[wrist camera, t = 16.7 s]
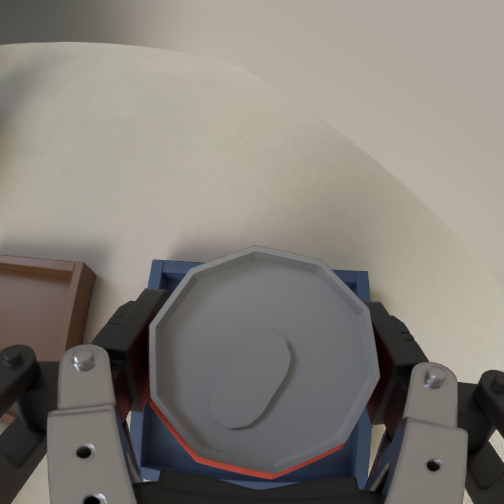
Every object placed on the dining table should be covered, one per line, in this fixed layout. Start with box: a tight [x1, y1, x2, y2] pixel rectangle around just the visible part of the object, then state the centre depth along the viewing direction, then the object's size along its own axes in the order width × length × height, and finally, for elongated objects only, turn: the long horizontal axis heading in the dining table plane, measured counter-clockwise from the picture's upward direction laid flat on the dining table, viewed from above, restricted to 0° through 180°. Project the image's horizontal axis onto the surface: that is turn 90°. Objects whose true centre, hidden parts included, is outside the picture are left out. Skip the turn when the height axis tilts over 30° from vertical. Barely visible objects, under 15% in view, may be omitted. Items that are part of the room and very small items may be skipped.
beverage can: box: [147, 245, 380, 480], centre depth 12 cm, size 6×6×12 cm
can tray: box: [130, 260, 371, 490], centre depth 17 cm, size 14×14×2 cm
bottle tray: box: [0, 255, 96, 424], centre depth 18 cm, size 12×12×2 cm
